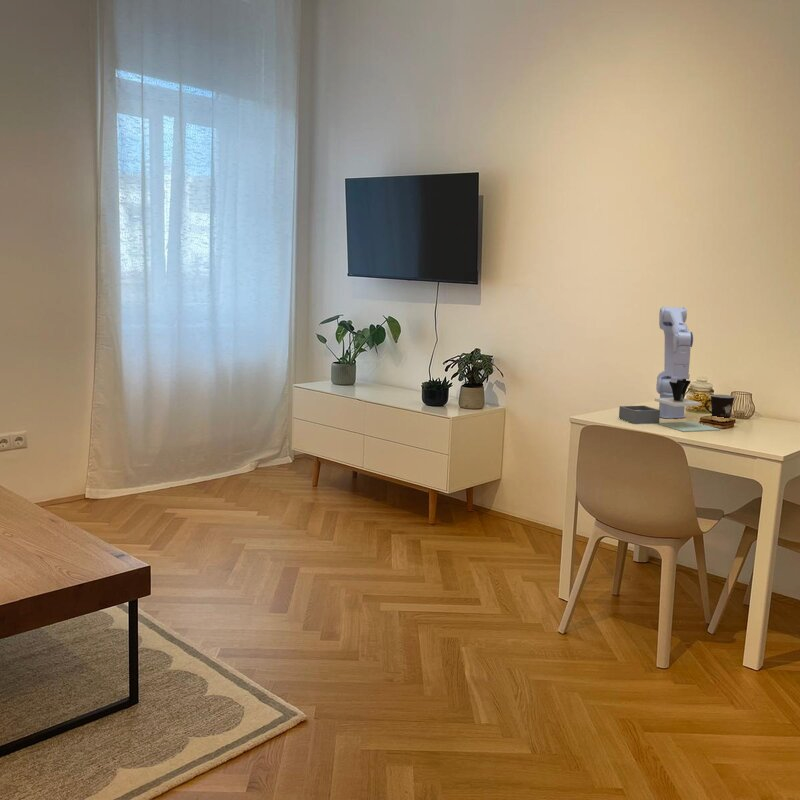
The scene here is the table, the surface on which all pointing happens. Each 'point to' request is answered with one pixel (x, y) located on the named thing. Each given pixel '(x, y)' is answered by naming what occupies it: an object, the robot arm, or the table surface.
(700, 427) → the mat
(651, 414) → the box
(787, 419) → the table surface
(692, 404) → the lid
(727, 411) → the coffee mug
